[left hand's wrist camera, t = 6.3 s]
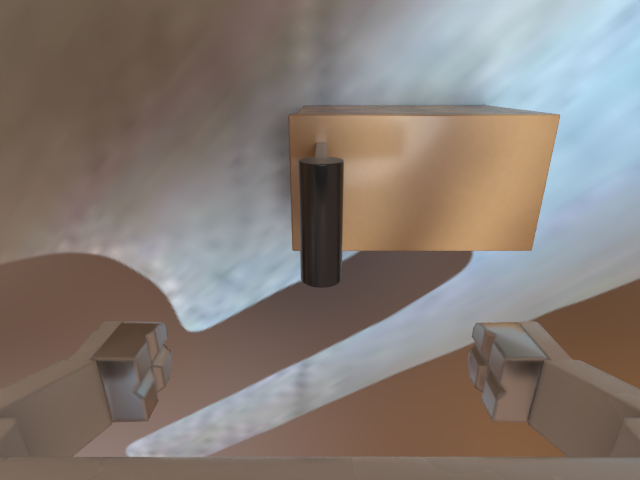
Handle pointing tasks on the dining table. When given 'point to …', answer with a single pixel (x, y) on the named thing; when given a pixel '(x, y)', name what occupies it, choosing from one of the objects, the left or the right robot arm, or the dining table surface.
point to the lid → (414, 184)
